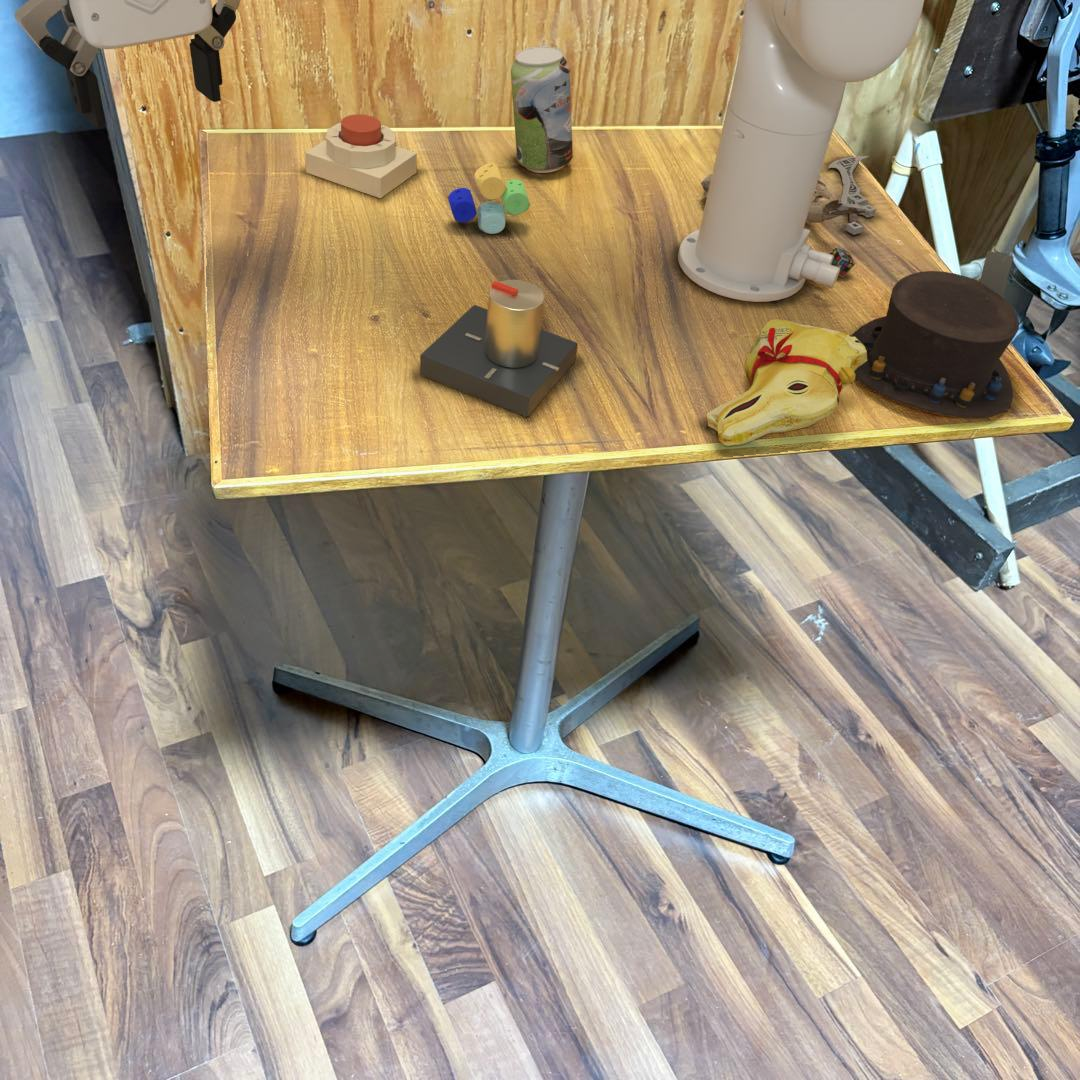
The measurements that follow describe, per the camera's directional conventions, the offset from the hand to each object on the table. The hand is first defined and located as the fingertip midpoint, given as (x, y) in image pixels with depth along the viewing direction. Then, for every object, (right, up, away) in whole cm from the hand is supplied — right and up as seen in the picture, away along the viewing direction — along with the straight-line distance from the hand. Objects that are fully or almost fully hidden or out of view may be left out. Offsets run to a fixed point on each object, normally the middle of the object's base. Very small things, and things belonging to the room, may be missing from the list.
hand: (152, 107), depth 85 cm
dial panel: (+28, -20, +4) cm, 34 cm away
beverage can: (+31, +6, +31) cm, 44 cm away
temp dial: (+29, -19, +2) cm, 35 cm away
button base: (+12, +4, +26) cm, 29 cm away
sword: (+63, +5, +33) cm, 71 cm away
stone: (+53, +2, +32) cm, 62 cm away
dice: (+26, -4, +21) cm, 33 cm away
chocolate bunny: (+55, -17, +5) cm, 58 cm away
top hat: (+65, -20, +10) cm, 69 cm away
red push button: (+13, +6, +23) cm, 27 cm away
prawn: (+60, +5, +24) cm, 65 cm away
